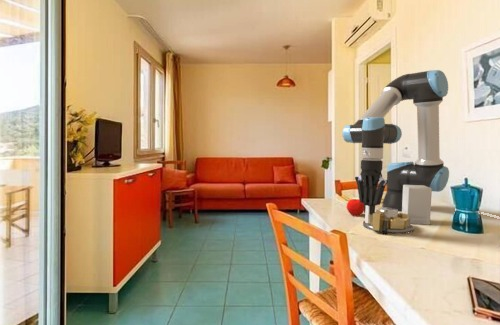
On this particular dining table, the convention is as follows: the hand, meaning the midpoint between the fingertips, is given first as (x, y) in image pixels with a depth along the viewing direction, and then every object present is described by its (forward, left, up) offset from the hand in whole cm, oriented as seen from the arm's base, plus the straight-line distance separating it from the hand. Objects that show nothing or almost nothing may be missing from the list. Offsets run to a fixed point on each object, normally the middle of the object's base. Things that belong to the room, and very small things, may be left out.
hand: (368, 222), depth 122 cm
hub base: (-9, +3, -3) cm, 10 cm away
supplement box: (-27, +8, -3) cm, 29 cm away
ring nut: (-8, +3, -2) cm, 9 cm away
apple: (-20, -15, -3) cm, 25 cm away
